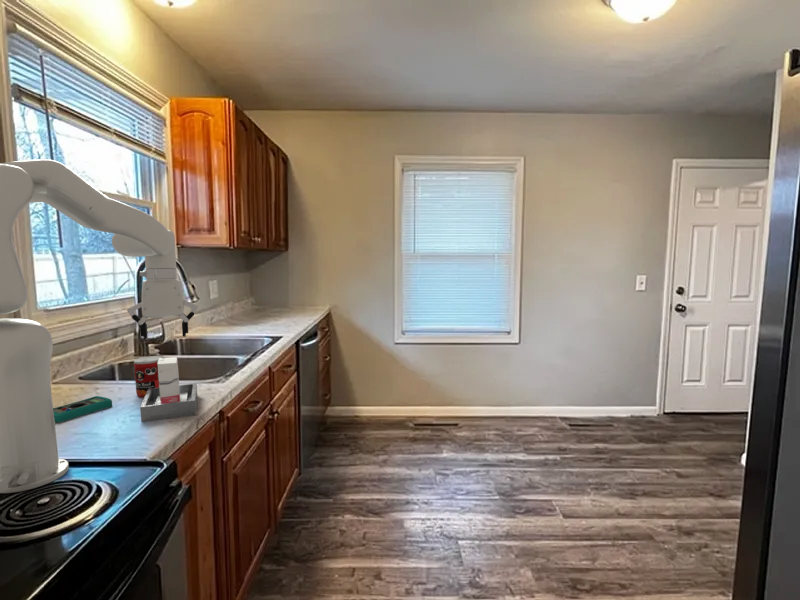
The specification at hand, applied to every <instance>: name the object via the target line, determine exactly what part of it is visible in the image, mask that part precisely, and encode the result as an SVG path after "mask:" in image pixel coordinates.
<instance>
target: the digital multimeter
mask: <svg viewBox="0 0 800 600" xmlns="http://www.w3.org/2000/svg"><path fill="white" fill-rule="evenodd" d="M112 406H113V400H112V399H111V398H109V397H105V396H100V395H96V396H92V397H88V398H85V399H81V400H77V401H75V402H71V403H68V404H64V405H60V406H57V407H53V411H54V421H55V423H62V422H66V421H70V420H72V419H76V418H78V417H81V416H85V415H87V414H92V413H94V412H99V411H101V410H104V409H108V408H112Z"/></svg>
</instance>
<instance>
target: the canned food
mask: <svg viewBox="0 0 800 600" xmlns="http://www.w3.org/2000/svg"><path fill="white" fill-rule="evenodd" d="M159 358H163V357H162V356H159V355H158V356H157V355H153V356H144V357H143V356H142V357H138V358H136V359H134V360H133V370H134V380H135V381H134V382H135V392H136V395H137V397H139V398H144V397H145V395H146V393H147V391H148V389H149V388H158V387H159V377H158V364H157V363H158V360H159Z"/></svg>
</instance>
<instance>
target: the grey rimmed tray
mask: <svg viewBox="0 0 800 600" xmlns="http://www.w3.org/2000/svg"><path fill="white" fill-rule="evenodd" d="M179 389H180V402H172V403H164V404H161V400H160V389H159V387H158V388H149V389H148V391H147V393H146V395H145V397H143V400H142V402H141V405H140V406H139V408H140V409H139V410H140V411H139V412H140V422H141V423H145V422H155V421H161V420H171V419H176V418H182V417H183V418H184V417H191V416H196V415H197V405H198V384H197V383H196V382H195V383H187V384H186V383H183V384H179Z"/></svg>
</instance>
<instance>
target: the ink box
mask: <svg viewBox="0 0 800 600" xmlns="http://www.w3.org/2000/svg"><path fill="white" fill-rule="evenodd" d="M157 364H158V377H159V389H160V400H161V404H164V403H172V402H180V389H179V385H180V377H179V375H180V374H179V365H178V364H179V363H178V357H177V356H175V357H174V356H172V357H162V358H159V360H158V363H157Z"/></svg>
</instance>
